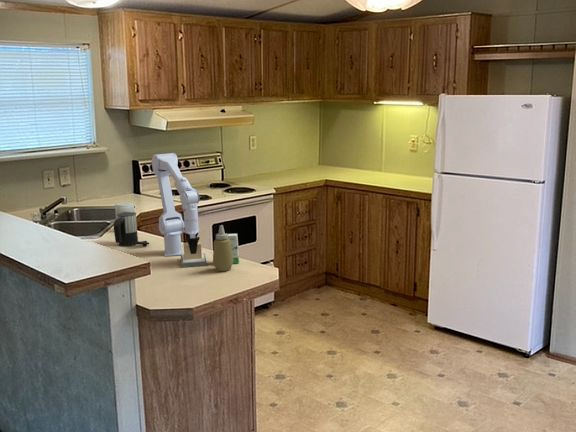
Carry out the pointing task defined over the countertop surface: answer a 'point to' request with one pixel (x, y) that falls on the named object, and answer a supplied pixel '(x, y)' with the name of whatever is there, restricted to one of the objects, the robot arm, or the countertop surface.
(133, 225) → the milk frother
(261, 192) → the countertop surface
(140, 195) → the countertop surface
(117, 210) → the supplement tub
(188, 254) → the carton
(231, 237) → the ink box
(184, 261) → the grey picture frame
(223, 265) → the squeeze bottle
